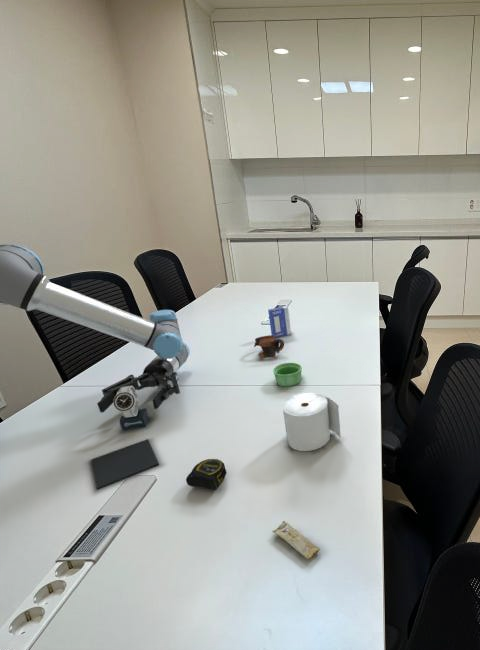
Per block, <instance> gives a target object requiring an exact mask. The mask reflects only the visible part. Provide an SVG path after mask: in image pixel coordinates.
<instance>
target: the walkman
mask: <svg viewBox="0 0 480 650" xmlns="http://www.w3.org/2000/svg"><path fill="white" fill-rule="evenodd" d="M289 311H290V310H289V307H288V306H287V305H284V306H279V307H274V308H269V309H268V311H267V312H268V320H269V326H270V333H271V335H273V336H275V339H277V338H281V337H285V336H289V335H291V334H292V330H291V322H290V321H291V320H290V312H289Z"/></svg>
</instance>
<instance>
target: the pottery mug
mask: <svg viewBox="0 0 480 650" xmlns="http://www.w3.org/2000/svg"><path fill="white" fill-rule="evenodd" d="M254 339H255V341H254V345H253V348H256V347H260V348H261V350H262V351H261V352H258V356H259V360H262V359H267V358H268V359H269V358H276V354H279V353H280V352H281V351H282V350H283V349H284V347H285V341H284V340H283V339H282V338H275V336H273V335H272V334H271V335H270V334H269V335H263V336H258V337H256V338H254Z"/></svg>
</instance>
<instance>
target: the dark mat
mask: <svg viewBox="0 0 480 650" xmlns="http://www.w3.org/2000/svg"><path fill="white" fill-rule="evenodd" d="M90 461H91V465H92V470H93V475H94V479H95V485H96V489H97V490H99V489H102V488H104V487H107V486H109V485H113V484H115V483H117V482H119V481H122V480H125V479H127V478H129V477H132V476H134V475H137V474H139V473H142V472H144V471H147V470H149V469H151V468H155V467H156V466H159V465H160V462H159V460H158V458H157V456H156V454H155V452H154V449H153V447H152V445H151V442H150V440H149V439H148V438H146V439H144V440H141V441H139V442H136V443H133V444H130V445H127V446H125V447H122V448H118V449H117V450H114V451H110V452H108V453H105V454H102V455H99V456H97V457H94V458H92V459H90Z"/></svg>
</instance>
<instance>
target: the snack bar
mask: <svg viewBox="0 0 480 650" xmlns="http://www.w3.org/2000/svg"><path fill="white" fill-rule="evenodd" d="M272 533H273V534H275V535H278V537H280V538H281V539H283V540H284V541H285V542H287V544H289V545H290V546H291V547H292V548H293V549H295V550H296V551H297V552H298V553H299V554H301V555H302V556H303V557H304V558H306V559H310V558H312V557H313V556H314V555H316V554H317V553H318V552H319V551H321V548H320V547H318V546H317V545H316V544H314V543H313V542H311V541H310V539H308V538H307V537H305V536H304V535H302V534H301V533H300V532H299V531H298V530H296V529H295V528H294V527H292V526H291V524H289V523H288V522H287V521H285V520H283V521H282V522H281V524H280V525H278V527H277V528H276V529H274V530H272Z"/></svg>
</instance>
